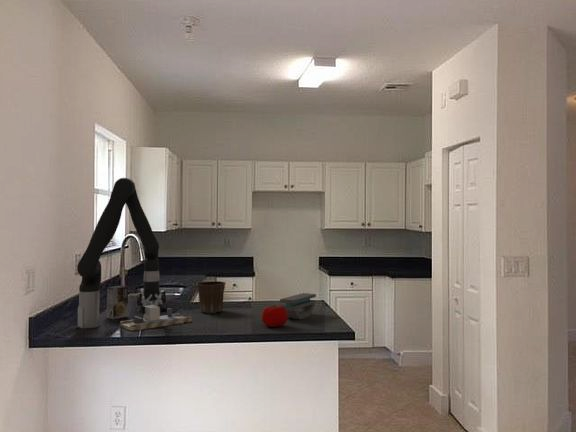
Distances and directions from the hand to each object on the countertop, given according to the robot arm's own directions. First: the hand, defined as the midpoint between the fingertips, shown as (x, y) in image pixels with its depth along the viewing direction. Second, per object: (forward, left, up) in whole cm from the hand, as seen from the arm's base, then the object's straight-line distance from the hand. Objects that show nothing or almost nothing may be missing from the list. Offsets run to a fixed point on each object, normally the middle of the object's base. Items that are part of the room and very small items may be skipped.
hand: (151, 313), depth 256 cm
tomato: (+43, -43, -6) cm, 61 cm away
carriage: (+3, 0, -4) cm, 5 cm away
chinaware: (+21, +41, -6) cm, 46 cm away
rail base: (+3, 0, -6) cm, 6 cm away
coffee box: (-4, +30, -6) cm, 31 cm away
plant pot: (+42, +11, -6) cm, 43 cm away
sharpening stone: (+68, -33, -6) cm, 75 cm away
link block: (0, 0, -3) cm, 3 cm away
